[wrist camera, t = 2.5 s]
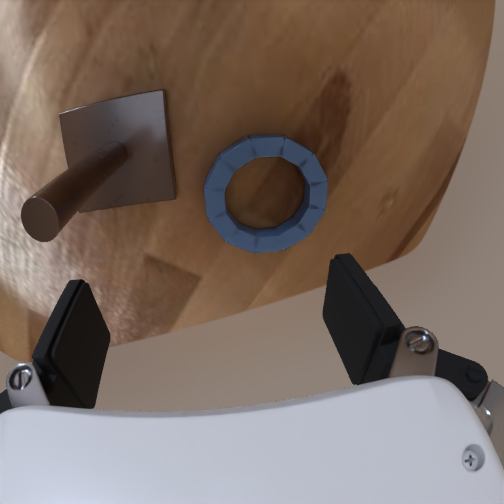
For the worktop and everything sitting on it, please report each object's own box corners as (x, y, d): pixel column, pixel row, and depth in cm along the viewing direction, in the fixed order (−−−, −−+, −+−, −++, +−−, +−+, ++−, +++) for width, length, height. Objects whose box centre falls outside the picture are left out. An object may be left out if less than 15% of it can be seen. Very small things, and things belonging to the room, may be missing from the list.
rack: (165, 89, 19) (111, 89, 8) (177, 194, 24) (152, 296, 13) (65, 112, 18) (-43, 150, 7) (83, 208, 23) (12, 303, 12)
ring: (323, 133, 23) (330, 136, 21) (317, 238, 28) (322, 246, 27) (200, 138, 22) (199, 141, 20) (211, 248, 27) (211, 257, 26)
